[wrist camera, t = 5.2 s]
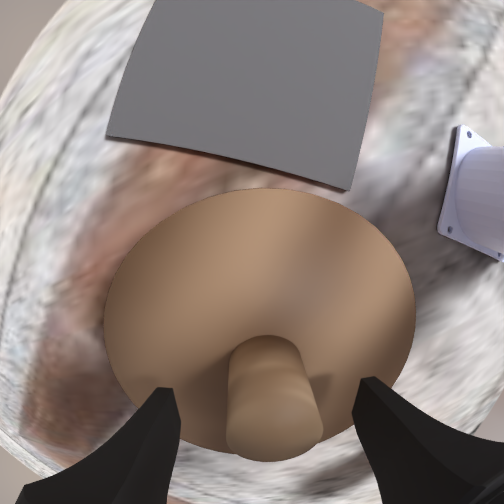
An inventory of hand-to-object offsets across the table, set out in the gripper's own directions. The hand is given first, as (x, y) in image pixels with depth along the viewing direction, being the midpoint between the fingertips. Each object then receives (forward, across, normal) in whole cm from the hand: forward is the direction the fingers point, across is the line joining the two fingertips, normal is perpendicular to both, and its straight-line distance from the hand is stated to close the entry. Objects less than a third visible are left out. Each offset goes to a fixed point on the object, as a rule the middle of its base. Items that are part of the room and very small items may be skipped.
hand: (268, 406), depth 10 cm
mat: (+8, 0, -16) cm, 17 cm away
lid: (+3, 0, -1) cm, 3 cm away
